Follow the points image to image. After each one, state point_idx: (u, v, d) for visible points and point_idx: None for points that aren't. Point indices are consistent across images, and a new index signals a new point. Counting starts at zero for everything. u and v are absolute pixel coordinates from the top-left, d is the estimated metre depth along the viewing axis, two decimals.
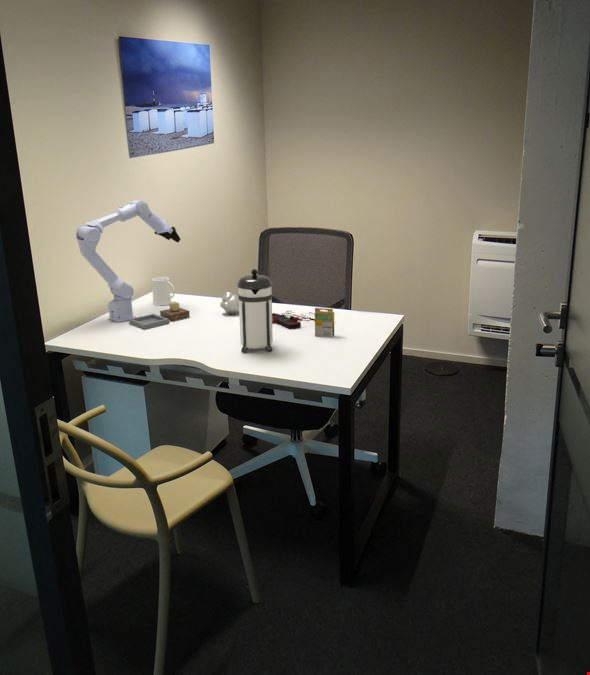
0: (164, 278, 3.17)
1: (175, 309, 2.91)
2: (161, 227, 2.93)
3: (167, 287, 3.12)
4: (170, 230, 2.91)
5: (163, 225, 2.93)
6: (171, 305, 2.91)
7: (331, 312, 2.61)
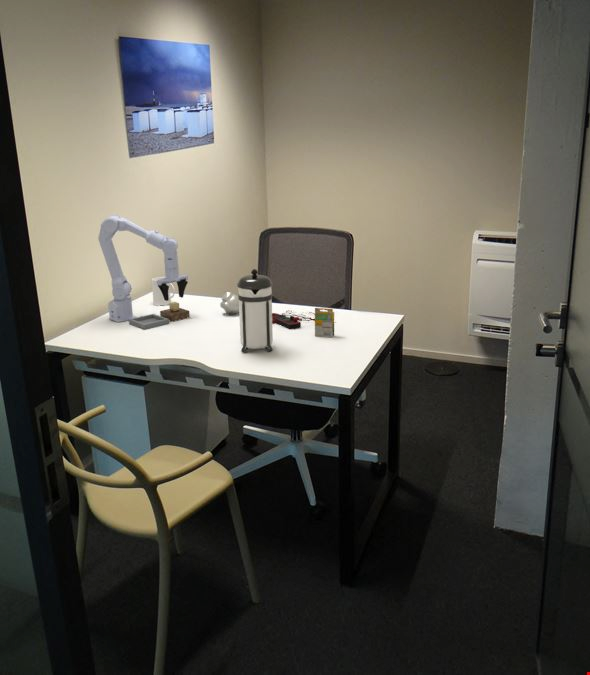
0: None
1: (175, 309, 2.91)
2: (166, 276, 2.87)
3: None
4: (158, 282, 2.84)
5: (167, 277, 2.86)
6: (171, 305, 2.91)
7: (331, 312, 2.61)
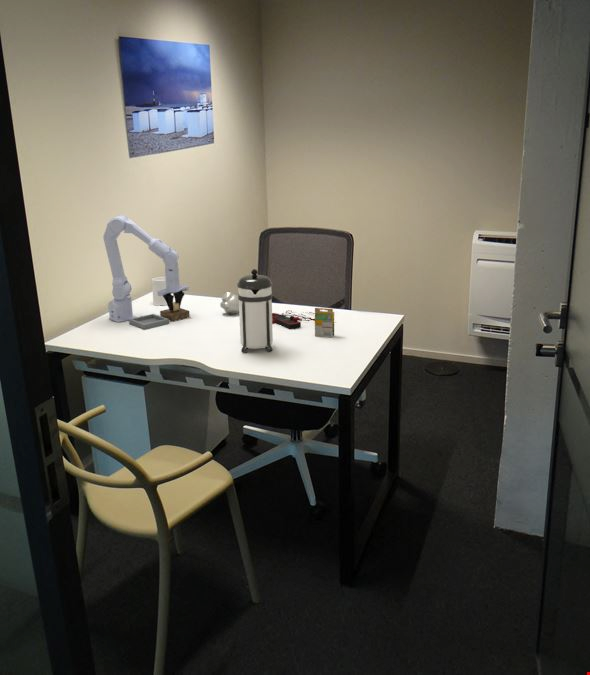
0: (164, 278, 3.17)
1: (175, 309, 2.91)
2: (166, 287, 2.88)
3: None
4: (158, 293, 2.85)
5: (168, 288, 2.87)
6: None
7: (331, 312, 2.61)
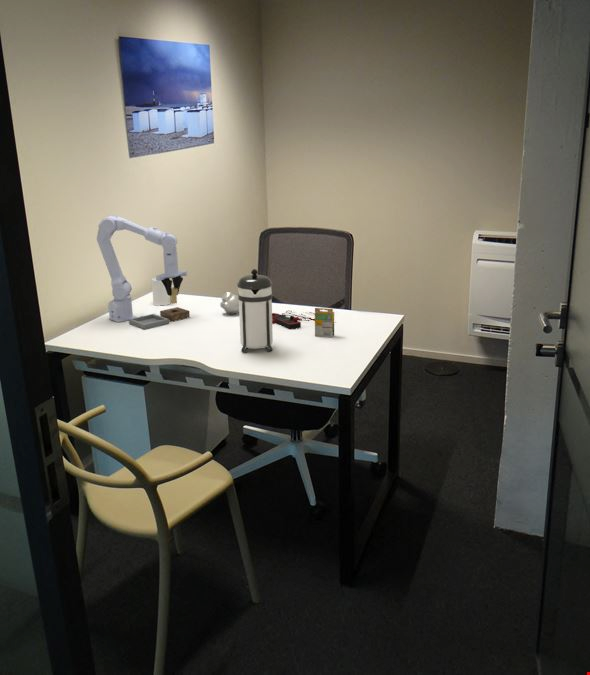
0: None
1: (174, 294, 2.89)
2: (165, 272, 2.86)
3: None
4: (157, 278, 2.83)
5: (167, 273, 2.85)
6: None
7: (331, 312, 2.61)
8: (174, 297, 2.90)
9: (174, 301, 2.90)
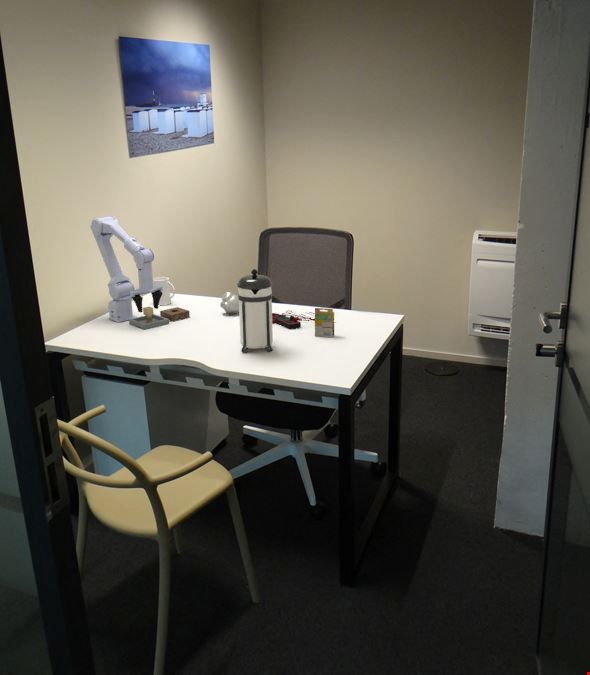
0: (164, 278, 3.17)
1: (149, 314, 2.82)
2: (139, 287, 2.79)
3: (167, 287, 3.12)
4: (131, 294, 2.76)
5: (141, 288, 2.78)
6: (145, 310, 2.82)
7: (331, 312, 2.61)
8: (149, 316, 2.83)
9: (149, 321, 2.84)
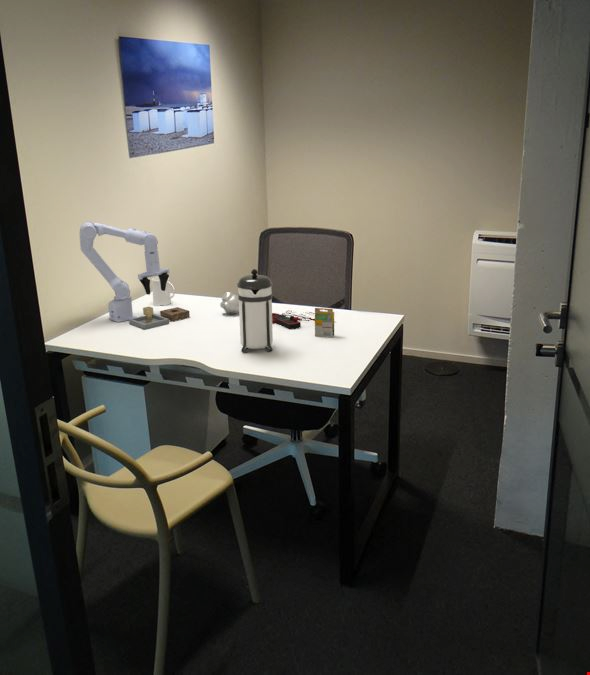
0: None
1: (149, 314, 2.82)
2: (147, 270, 2.90)
3: (167, 287, 3.12)
4: (139, 276, 2.87)
5: (148, 271, 2.89)
6: (145, 310, 2.82)
7: (331, 312, 2.61)
8: (149, 316, 2.83)
9: (149, 321, 2.84)
